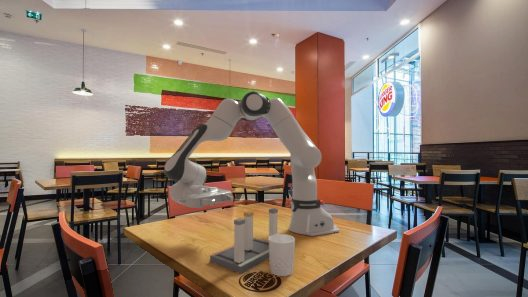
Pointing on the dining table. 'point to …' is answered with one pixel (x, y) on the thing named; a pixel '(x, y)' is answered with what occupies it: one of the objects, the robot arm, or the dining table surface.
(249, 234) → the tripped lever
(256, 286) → the dining table surface
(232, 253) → the peg rod stand
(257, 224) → the dining table surface
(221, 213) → the dining table surface
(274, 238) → the white cup
